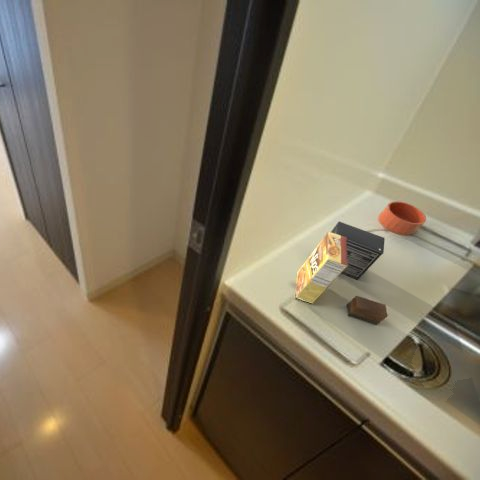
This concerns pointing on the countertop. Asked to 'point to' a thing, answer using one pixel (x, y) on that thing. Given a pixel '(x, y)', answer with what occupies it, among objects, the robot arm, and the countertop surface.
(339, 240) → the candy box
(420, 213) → the bowl
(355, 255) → the small box
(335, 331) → the countertop surface
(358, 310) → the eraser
